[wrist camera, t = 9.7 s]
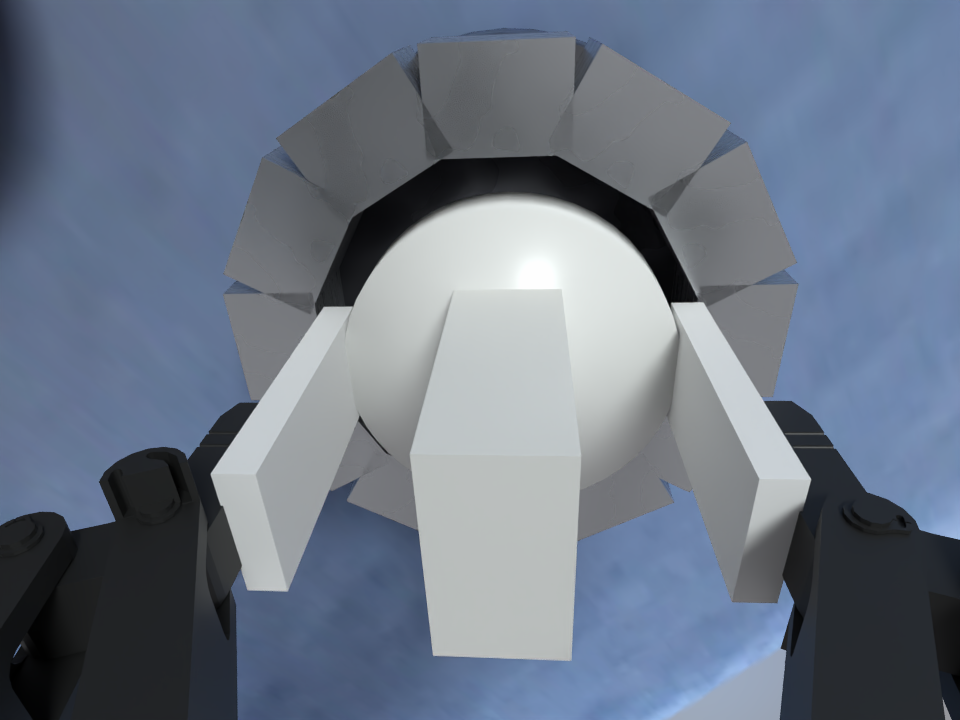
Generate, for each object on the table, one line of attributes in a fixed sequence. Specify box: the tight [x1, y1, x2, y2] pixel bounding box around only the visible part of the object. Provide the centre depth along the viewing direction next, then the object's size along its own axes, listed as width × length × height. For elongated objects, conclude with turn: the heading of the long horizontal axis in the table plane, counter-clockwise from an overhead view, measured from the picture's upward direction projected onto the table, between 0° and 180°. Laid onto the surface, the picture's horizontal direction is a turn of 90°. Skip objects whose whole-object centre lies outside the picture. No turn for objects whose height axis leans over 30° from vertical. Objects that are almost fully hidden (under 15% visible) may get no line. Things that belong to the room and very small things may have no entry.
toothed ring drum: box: [223, 28, 798, 541], centre depth 19 cm, size 14×14×8 cm
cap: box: [345, 192, 679, 661], centre depth 13 cm, size 8×8×8 cm
